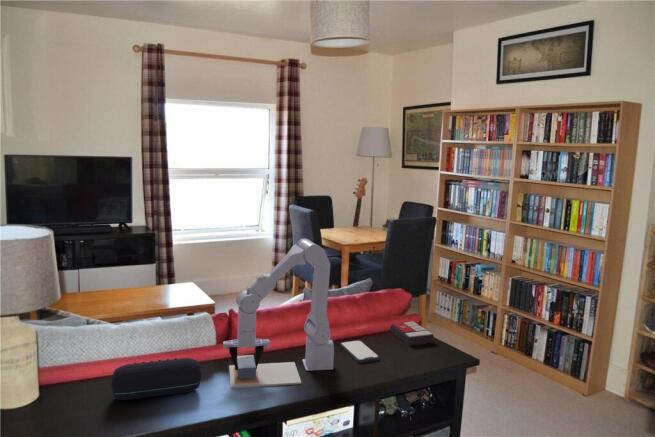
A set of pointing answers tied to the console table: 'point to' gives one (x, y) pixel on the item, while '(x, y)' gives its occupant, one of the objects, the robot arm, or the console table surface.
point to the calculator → (412, 333)
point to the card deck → (246, 367)
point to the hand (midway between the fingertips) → (245, 368)
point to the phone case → (359, 351)
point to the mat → (267, 375)
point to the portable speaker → (156, 378)
